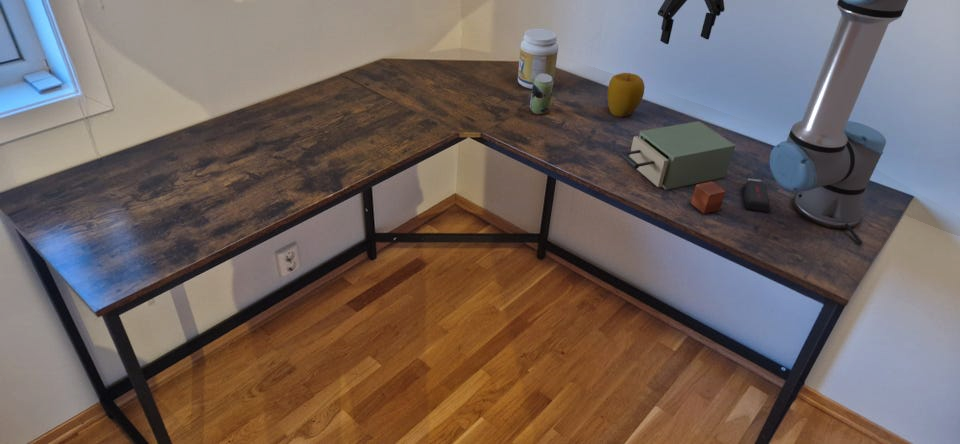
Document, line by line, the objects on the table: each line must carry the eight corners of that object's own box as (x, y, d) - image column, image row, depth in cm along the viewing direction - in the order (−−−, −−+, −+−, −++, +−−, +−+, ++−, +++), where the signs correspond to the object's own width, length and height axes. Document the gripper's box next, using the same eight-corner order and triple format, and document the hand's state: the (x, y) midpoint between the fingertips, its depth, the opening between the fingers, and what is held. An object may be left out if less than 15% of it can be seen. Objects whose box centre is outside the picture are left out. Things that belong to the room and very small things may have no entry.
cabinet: (665, 190, 167) (673, 157, 161) (633, 162, 178) (639, 131, 172) (725, 177, 174) (735, 145, 168) (690, 151, 184) (699, 120, 179)
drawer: (638, 191, 164) (644, 164, 159) (609, 165, 174) (614, 139, 169) (715, 175, 173) (723, 149, 168) (683, 151, 182) (690, 126, 178)
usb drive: (746, 208, 162) (749, 199, 160) (741, 184, 171) (744, 175, 170) (768, 212, 161) (771, 203, 159) (762, 187, 170) (765, 178, 169)
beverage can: (544, 106, 204) (548, 69, 197) (553, 116, 198) (558, 79, 191) (525, 107, 202) (529, 71, 195) (534, 118, 197) (538, 81, 190)
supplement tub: (514, 75, 222) (518, 27, 213) (549, 76, 224) (555, 27, 214) (520, 90, 213) (524, 40, 203) (556, 90, 214) (563, 40, 204)
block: (719, 210, 160) (725, 191, 157) (703, 214, 159) (709, 195, 156) (706, 199, 164) (712, 181, 161) (690, 203, 162) (696, 184, 159)
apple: (636, 124, 197) (644, 84, 189) (600, 118, 199) (607, 78, 192) (640, 110, 205) (649, 71, 198) (606, 104, 208) (613, 65, 200)
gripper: (732, -48, 173) (711, 31, 185) (654, -43, 164) (638, 39, 176) (752, -41, 167) (729, 40, 179) (673, -36, 158) (655, 49, 171)
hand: (684, 40), depth 178 cm, fingers open, 13 cm apart
